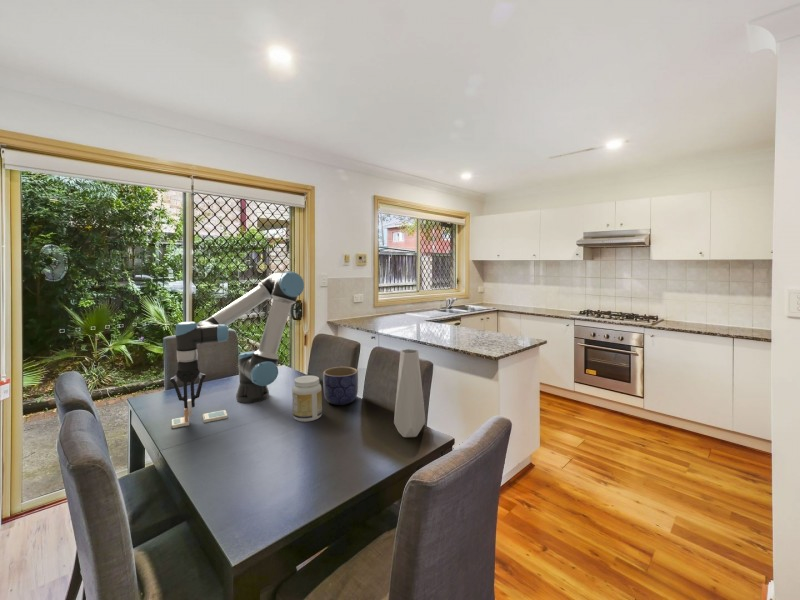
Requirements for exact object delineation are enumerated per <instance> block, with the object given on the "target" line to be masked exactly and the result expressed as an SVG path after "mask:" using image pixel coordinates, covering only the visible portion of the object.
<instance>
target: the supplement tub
mask: <svg viewBox="0 0 800 600" xmlns="http://www.w3.org/2000/svg"><path fill="white" fill-rule="evenodd" d="M293 381H294V383H293V384H294V385H293V387H292V390H291V392H292V415H293V417H292V418H293V419H294V420H295V421H296V422H301V423H302V422H303V423H305V422H307V423H308V422H312V421H316V420H318V419H319V418H321V417H322V415H323V407H322V406H323V405H322V404H323V403H322V401H323V399H322V398H323V397H322V385H321V383H320V377H319V376H316V375H301V376H297V377H295V378H294V380H293Z"/></svg>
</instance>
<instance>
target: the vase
mask: <svg viewBox="0 0 800 600" xmlns="http://www.w3.org/2000/svg"><path fill="white" fill-rule="evenodd" d="M398 365H399V366H398V372H397V373H398V374H397V382H396V383H397V384H396V393H395V394H396V395H395V406H394V415H393V416H394V419H393V424H394V425H395V428H396V429H397V432H398V433H399V434H400V435H401V436H402V438H416V437H418V435H419V434H420V432H421V431H422V428H423V427H424V425H425V423H426V412H425V404H424V393H423V384H422V375H421V367H420V366H421V364H420V355H419V350H417V349H410V348H408V349H401V350H400V353H399V364H398Z"/></svg>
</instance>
